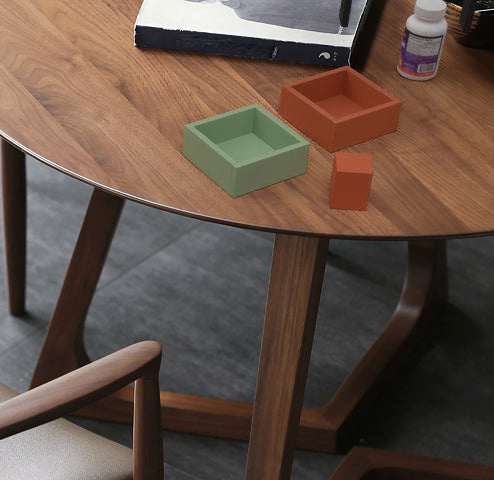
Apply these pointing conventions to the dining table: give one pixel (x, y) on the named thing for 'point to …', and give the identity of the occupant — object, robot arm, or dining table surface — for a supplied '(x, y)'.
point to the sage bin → (245, 149)
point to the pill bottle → (423, 40)
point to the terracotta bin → (339, 108)
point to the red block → (350, 181)
